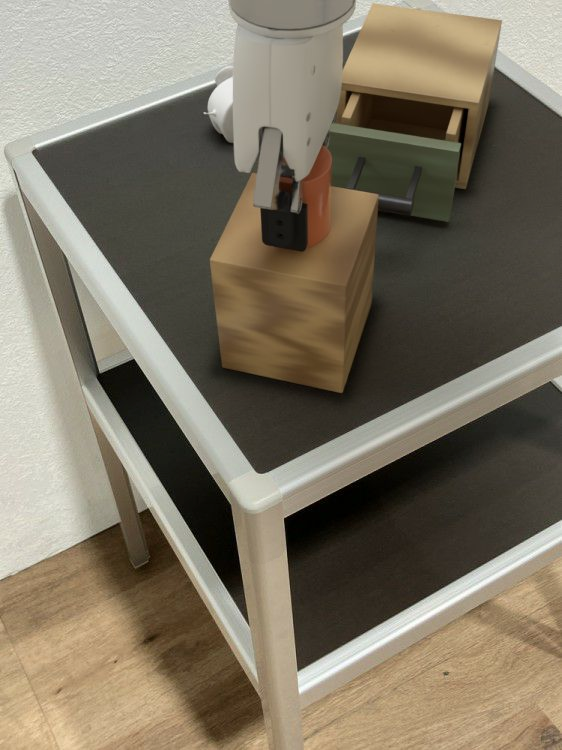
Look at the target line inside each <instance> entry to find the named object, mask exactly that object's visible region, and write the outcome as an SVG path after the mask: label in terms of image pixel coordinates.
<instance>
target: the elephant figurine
mask: <svg viewBox="0 0 562 750" xmlns="http://www.w3.org/2000/svg"><path fill="white" fill-rule="evenodd" d="M214 82H215V84H216V87H215V88H214V89H213V91H212V92H211V94H210V95H209V98H208V102H207V112H205V111H204V112H203V115H208V117H209V119H210V122H211V124H212V126H213V128H214V129H215V131H216V132H217V133H218V134H221V135H223V137H224V138H225V140H226V141H227V142H228V143H231V144H234V136H233V65H228V66H225V67H223V68H222V69H220V70H219V71H218V72H217V73H216V75H215V78H214Z"/></svg>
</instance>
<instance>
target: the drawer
mask: <svg viewBox="0 0 562 750" xmlns="http://www.w3.org/2000/svg"><path fill="white" fill-rule="evenodd" d="M468 110H469V109H467V108H460V107H454V106H447V105H440V104H434V103H427V102H420V101H414V100H407V99H400V98H394V97H387V96H380V95H374V94H367V93H360V92H354V91H353V92H352V94H351V97H350V99H349V101H348V104H347V106H346V109H345V111H344V113H343V116H342V124H337V123H336V122H332V123H331V125H330V128H329V130H330V140H329V145H328V148H327V149H328V150H329V151H330V154H331V157H332V186H333V187H339V188H345V189H351V190H356V191H362V192H368V193H374V194H378V195H379V198H378V211H381V212H387V213H393V214H398V215H404V216H409V217H410V216H412V217H417V218H423V219H429V220H434V221H440V222H446V223H449V222H450V219H451V216H452V212H453V211H452V210H453V204H454V196H455V190H456V188H455V184H456V177H457V170H458V163H459V156H460V152H461V148H462V145H463V141H464V138H465V131H466V124H467V117H468Z"/></svg>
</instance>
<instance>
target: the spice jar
mask: <svg viewBox="0 0 562 750" xmlns="http://www.w3.org/2000/svg"><path fill="white" fill-rule="evenodd" d="M282 162H286V160H285V158H284V157H283V161H282ZM331 188H332V157H331V154H330V152H329V150H328V149H327V148H326V147H325V146H324V145H322V147H321V149H320V151H319V153H318V156H317V158H316V160H315V162H314V165H313V167H312V169H311V171H310V173H309V174H308V175H307V176H306V177H305V178H304V188H303V202H302V203H304V204H307V210H308V245H307V247H306V248H308V247H312V246H314V245H316V244H318V243H320V242H321V241H323V240H324V239H325V238H326V237H327V235H328V234H329V232H330V228H331ZM279 190H282V191H287V192H289V193H291V191H292V178H286V177H280V180H279Z"/></svg>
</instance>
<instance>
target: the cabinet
mask: <svg viewBox="0 0 562 750" xmlns="http://www.w3.org/2000/svg"><path fill="white" fill-rule="evenodd" d="M502 25H503V20H502V19H496V18H487V17H481V16H480V17H479V16H474V15H473V16H472V15H467V14H466V15H465V14H458V13H449V12H443V11H442V12H441V11H434V10H427V9H421V8H419V9H418V8H412V7H410V8H409V7H405V6H396V5H388V4H380V3H372V4H371V5H370V8H369V10H368V13H367V14H366V17H365V20H364V22H363V24H362V26H361V29H360V30H359V33H358V34H357V37H356V39H355V42H354V44H353V46H352V48H351V51H350V53H349V55H348V58H347V60H346V62H345V64H344V65H343V71H342V86H341V94H340V100H339V104H338V107H337V110H336V124H342V116H343V113H344V111H345V109H346V106H347V104H348V101H349V99H350V97H351V94H352V92H353V91H354V92H360V93H367V94H374V95H380V96H387V97H394V98H400V99H407V100H414V101H420V102H427V103H434V104H440V105H447V106H454V107H460V108H467V109H469V110H468V117H467V124H466V131H465V138H464V141H463V145H462V148H461V152H460V156H459V163H458V170H457V177H456V184H455V189H461V190H466V189H467V186H468V182H469V178H470V176H471V171H472V168H473V163H474V160H475V156H476V152H477V149H478V144H479V141H480V138H481V134H482V130H483V126H484V123H485V119H486V116H487V112H488V108H489V104H490V97H491V91H492V86H493V78H494V73H495V67H496V62H497V61H496V60H497V56H498V55H497V54H498V49H499V44H500V43H499V42H500V36H501V31H502Z"/></svg>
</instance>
